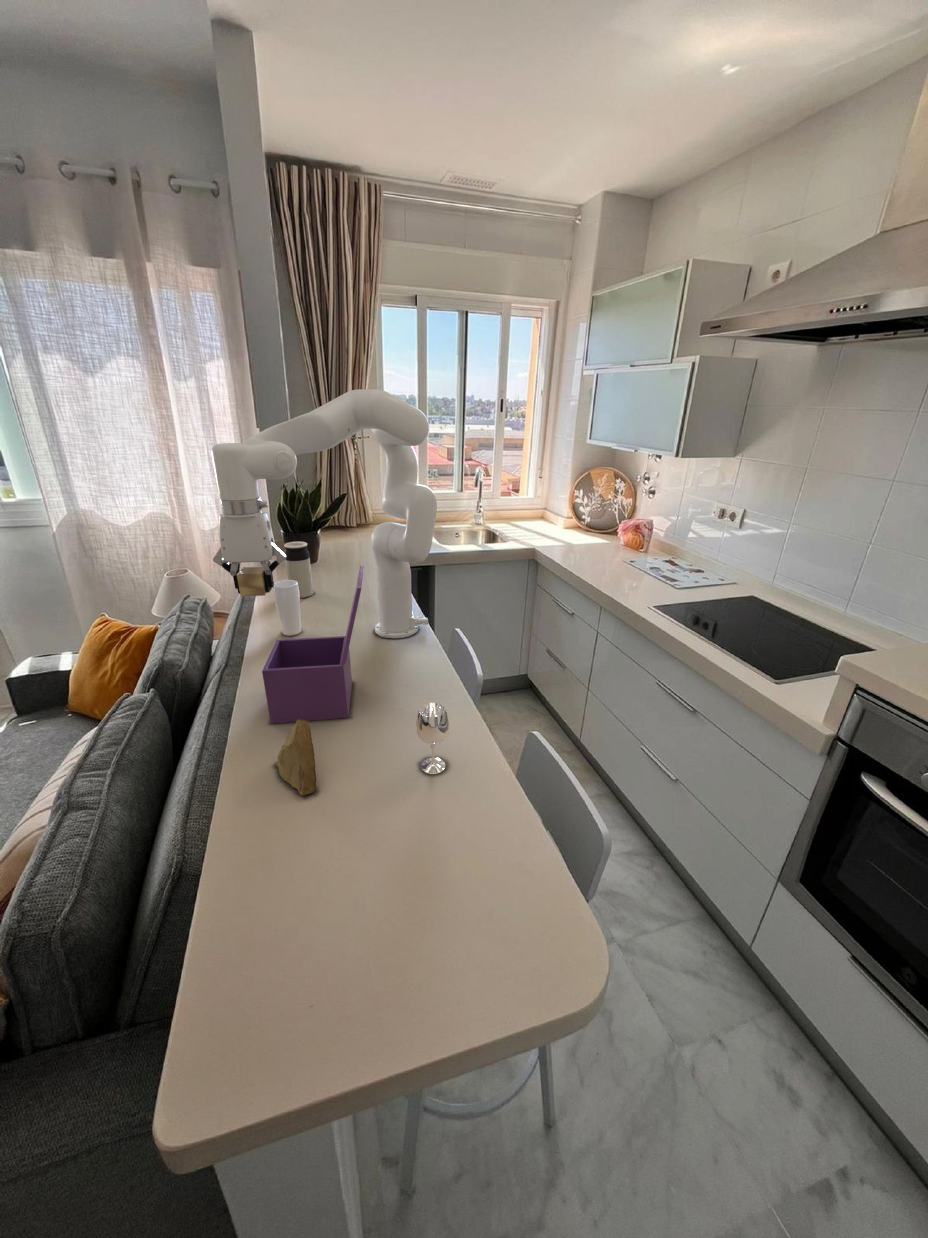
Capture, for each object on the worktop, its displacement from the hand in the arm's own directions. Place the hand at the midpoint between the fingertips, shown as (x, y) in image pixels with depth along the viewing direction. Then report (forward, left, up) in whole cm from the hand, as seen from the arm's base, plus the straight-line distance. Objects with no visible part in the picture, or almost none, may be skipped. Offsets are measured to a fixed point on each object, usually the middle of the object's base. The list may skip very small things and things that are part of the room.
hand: (255, 590), depth 108 cm
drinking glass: (0, -29, -23) cm, 37 cm away
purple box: (-11, +10, -23) cm, 28 cm away
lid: (-21, +10, -2) cm, 23 cm away
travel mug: (+2, -62, -23) cm, 66 cm away
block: (0, 0, 0) cm, 0 cm away
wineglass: (-35, +35, -23) cm, 55 cm away
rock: (-11, +35, -23) cm, 44 cm away
